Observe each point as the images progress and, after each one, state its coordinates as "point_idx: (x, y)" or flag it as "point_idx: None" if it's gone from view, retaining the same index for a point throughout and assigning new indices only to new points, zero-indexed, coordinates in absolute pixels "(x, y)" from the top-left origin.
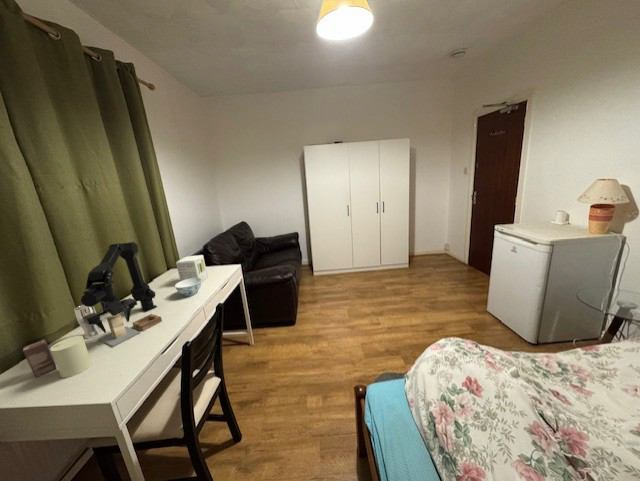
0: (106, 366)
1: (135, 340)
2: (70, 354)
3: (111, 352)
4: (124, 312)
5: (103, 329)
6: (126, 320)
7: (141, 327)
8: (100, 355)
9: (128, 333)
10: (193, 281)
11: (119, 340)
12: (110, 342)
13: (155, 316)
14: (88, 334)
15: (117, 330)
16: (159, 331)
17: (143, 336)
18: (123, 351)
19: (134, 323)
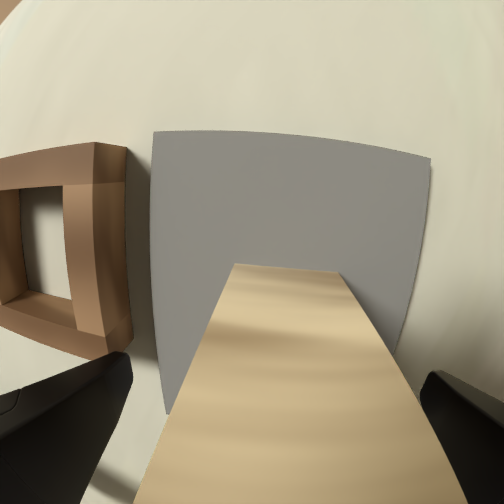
0: (496, 7)
1: (271, 39)
2: None
3: (459, 95)
4: (64, 502)
5: (483, 395)
6: (126, 397)
7: (103, 163)
8: (500, 157)
9: (221, 248)
10: None
11: (352, 197)
12: (400, 265)
13: None
14: None
15: (325, 310)
16: (105, 3)
17: (194, 35)
18: (406, 5)
19: (101, 329)
